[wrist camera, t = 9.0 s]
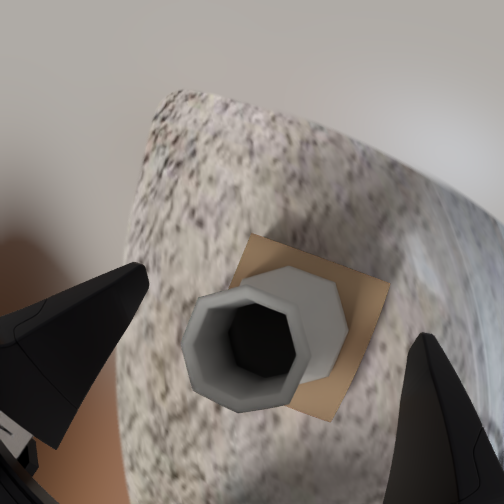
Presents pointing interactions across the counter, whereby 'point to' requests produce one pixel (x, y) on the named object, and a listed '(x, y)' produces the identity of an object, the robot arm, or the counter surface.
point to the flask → (264, 339)
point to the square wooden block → (354, 306)
